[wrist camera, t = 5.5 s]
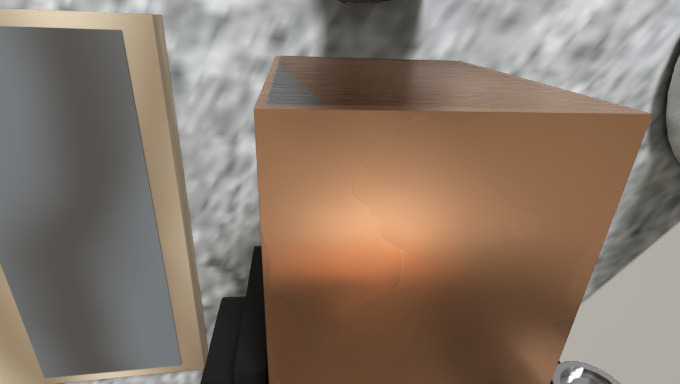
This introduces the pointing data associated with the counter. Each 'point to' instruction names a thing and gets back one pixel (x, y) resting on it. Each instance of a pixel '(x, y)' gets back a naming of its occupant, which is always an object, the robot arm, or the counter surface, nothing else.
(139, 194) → the board
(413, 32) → the counter surface
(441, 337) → the grey and copper block
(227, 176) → the counter surface
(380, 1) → the hand tool
